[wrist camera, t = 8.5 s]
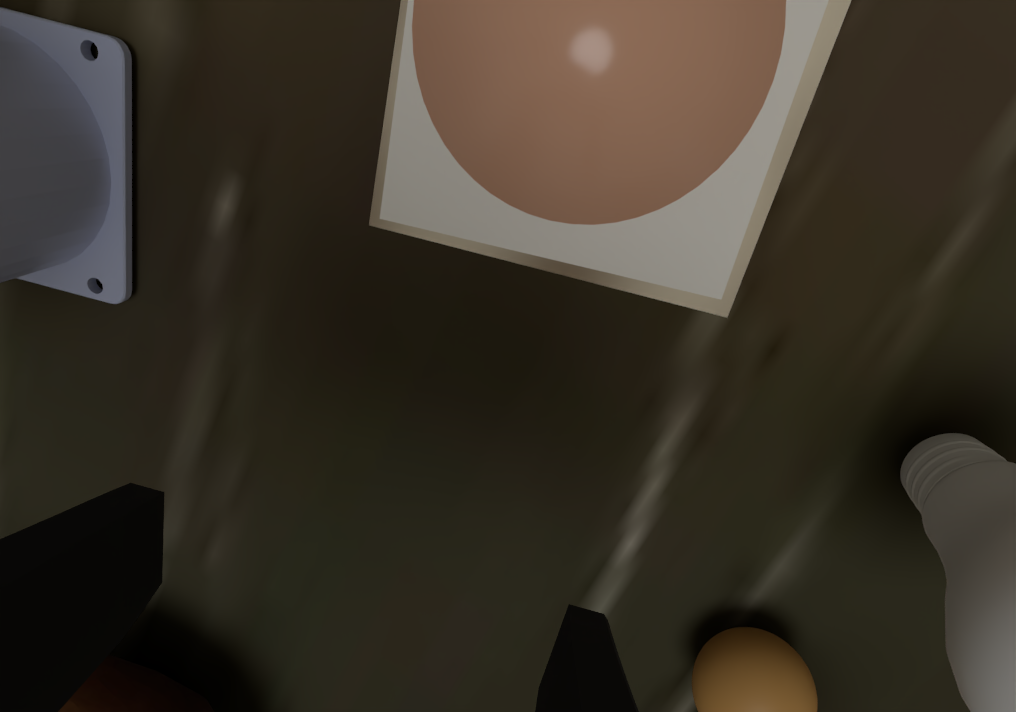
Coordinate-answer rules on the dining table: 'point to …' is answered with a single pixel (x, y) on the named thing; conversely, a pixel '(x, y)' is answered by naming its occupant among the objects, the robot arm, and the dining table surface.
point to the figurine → (751, 674)
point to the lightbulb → (972, 559)
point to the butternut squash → (133, 691)
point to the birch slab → (782, 153)
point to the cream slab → (612, 246)
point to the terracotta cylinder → (594, 96)
